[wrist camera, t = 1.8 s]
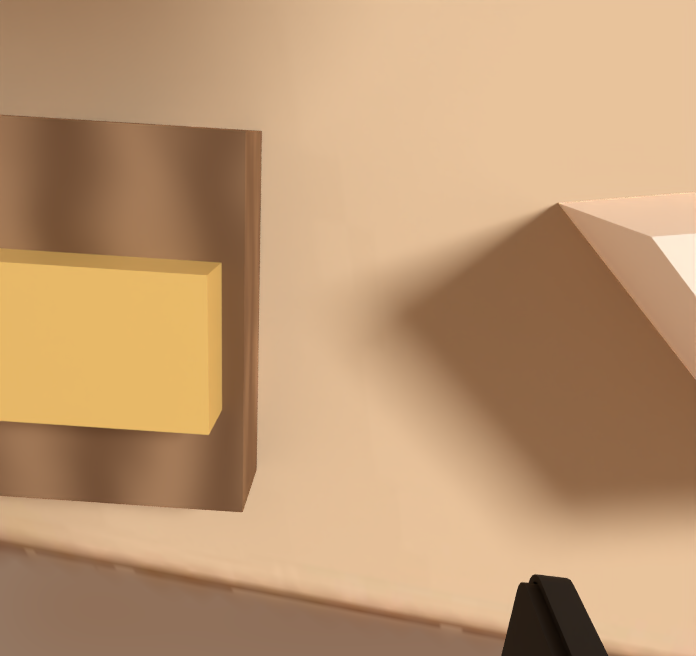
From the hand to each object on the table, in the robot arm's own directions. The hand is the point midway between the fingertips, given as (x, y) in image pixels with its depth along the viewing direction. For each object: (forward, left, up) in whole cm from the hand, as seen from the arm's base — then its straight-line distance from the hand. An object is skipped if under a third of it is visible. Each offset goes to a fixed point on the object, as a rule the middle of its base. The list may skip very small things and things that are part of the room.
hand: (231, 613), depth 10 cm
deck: (+10, +2, -22) cm, 24 cm away
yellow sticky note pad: (+9, +2, -18) cm, 20 cm away
